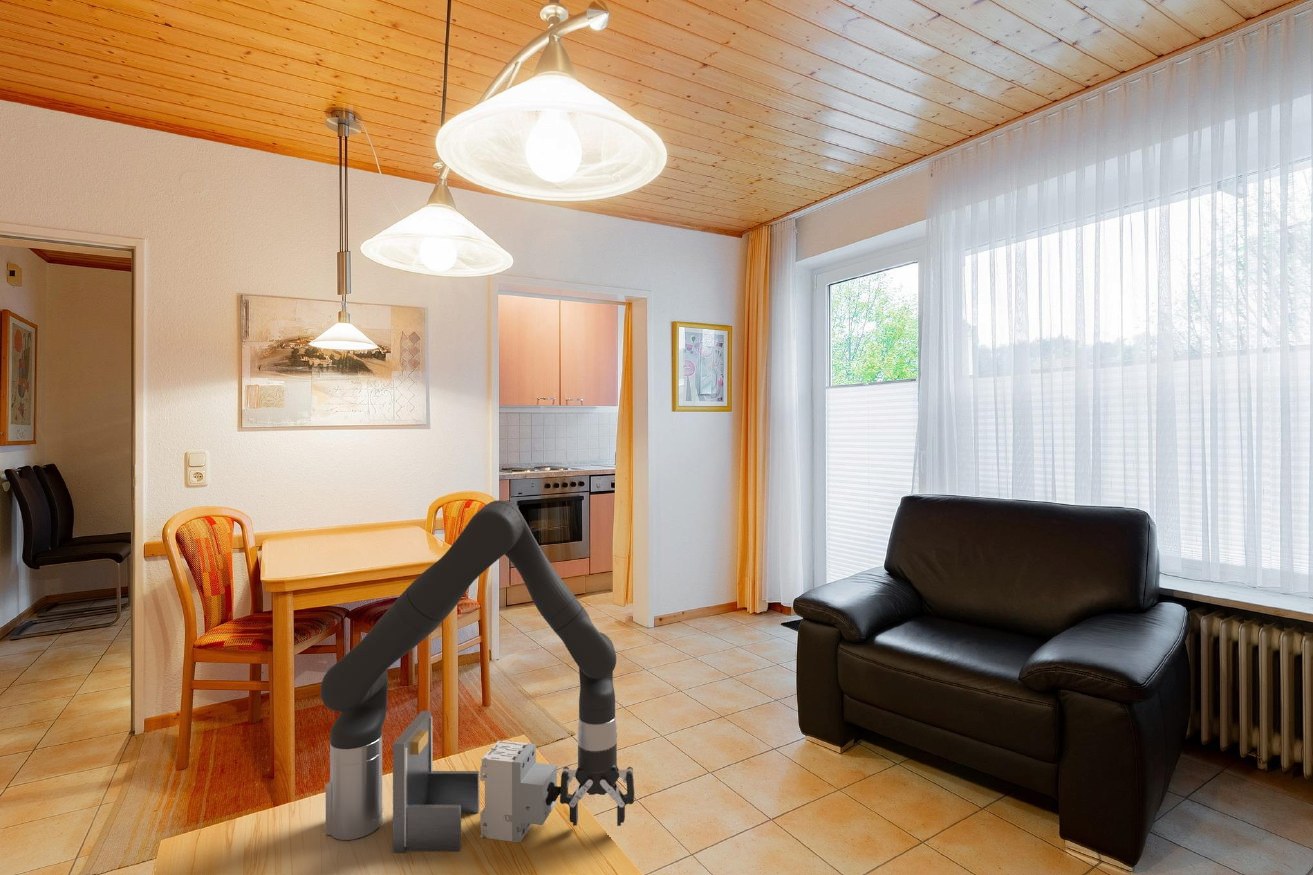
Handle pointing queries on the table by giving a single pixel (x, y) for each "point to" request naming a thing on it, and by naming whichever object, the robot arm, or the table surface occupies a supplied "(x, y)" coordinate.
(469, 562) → the robot arm
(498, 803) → the circuit breaker
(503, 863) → the table surface
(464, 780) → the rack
